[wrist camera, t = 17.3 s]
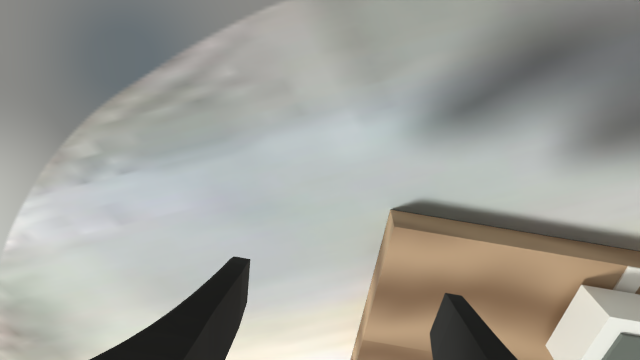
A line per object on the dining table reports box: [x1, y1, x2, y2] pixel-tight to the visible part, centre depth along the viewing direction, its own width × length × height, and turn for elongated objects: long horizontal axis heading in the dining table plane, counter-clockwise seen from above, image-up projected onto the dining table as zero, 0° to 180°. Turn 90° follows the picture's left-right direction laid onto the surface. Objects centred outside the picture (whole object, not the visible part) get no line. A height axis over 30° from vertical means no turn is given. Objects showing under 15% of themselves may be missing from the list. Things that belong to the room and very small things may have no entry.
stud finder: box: [545, 285, 640, 360], centre depth 20 cm, size 5×6×3 cm
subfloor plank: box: [351, 210, 640, 360], centre depth 23 cm, size 14×22×2 cm, turn 82°
